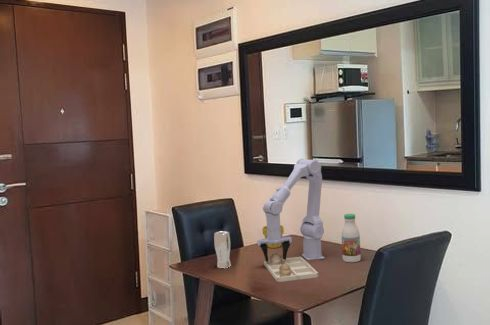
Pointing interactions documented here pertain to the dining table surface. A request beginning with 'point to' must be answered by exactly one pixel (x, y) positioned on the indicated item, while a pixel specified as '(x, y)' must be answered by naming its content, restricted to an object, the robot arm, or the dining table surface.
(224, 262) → the beer glass
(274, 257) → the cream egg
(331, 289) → the dining table surface
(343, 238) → the milk bottle
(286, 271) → the tan tiered dome
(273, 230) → the robot arm
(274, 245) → the plant pot
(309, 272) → the white compartment tray
